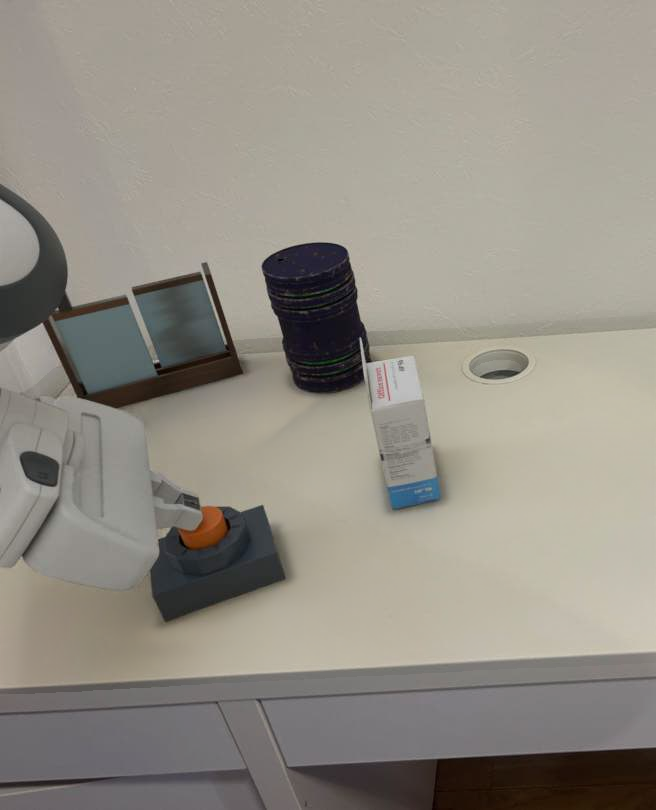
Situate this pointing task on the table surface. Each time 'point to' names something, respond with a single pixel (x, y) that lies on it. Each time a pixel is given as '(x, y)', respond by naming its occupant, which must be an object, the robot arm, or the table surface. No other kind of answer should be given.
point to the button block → (215, 565)
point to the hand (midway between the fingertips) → (197, 513)
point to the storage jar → (318, 315)
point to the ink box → (401, 430)
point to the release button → (206, 529)
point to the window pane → (104, 342)
